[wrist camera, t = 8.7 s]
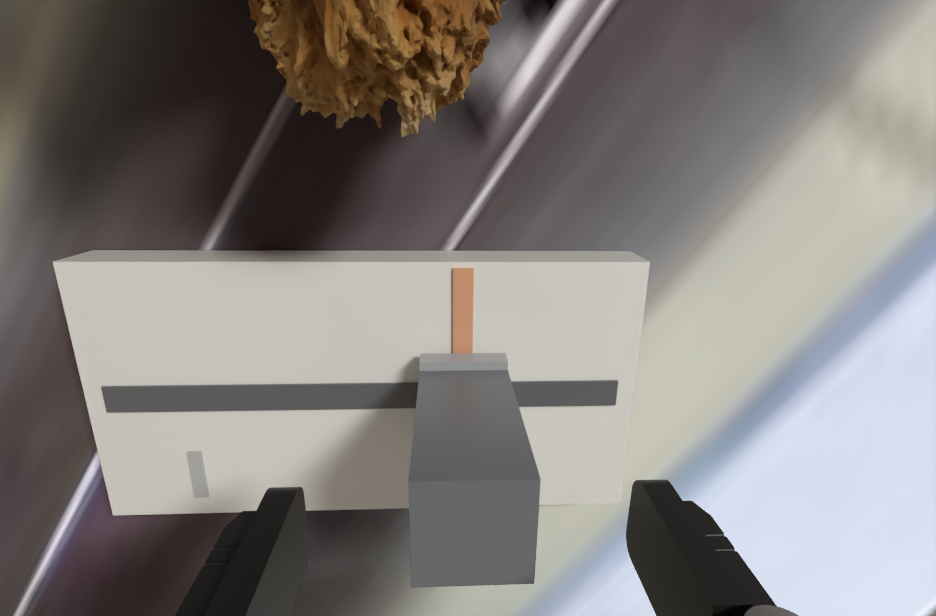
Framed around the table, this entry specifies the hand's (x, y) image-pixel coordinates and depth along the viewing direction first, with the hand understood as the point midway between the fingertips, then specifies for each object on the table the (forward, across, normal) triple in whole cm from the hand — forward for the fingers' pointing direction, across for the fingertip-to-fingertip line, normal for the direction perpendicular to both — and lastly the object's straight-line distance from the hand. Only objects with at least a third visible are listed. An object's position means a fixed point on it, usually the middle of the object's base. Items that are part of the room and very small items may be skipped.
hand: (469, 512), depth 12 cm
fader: (+6, 0, 0) cm, 6 cm away
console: (+9, +3, 0) cm, 9 cm away
